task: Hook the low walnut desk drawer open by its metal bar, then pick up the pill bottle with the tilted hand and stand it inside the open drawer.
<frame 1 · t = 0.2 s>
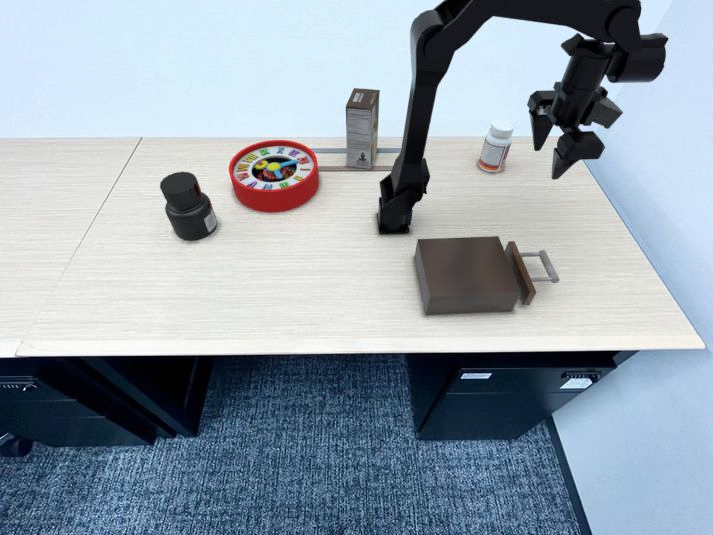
hand: (545, 164, 76), 15 cm above the table, tool pointing down, fingers open, 9 cm apart
pill bottle: (490, 166, 100), on the table
cabinet: (460, 283, 75), on the table
ink bottle: (197, 228, 85), on the table
drawer: (497, 272, 73), point 3 cm above the table, slide at 2.0 cm
coffee box: (362, 158, 102), on the table
toy clock: (277, 185, 95), on the table
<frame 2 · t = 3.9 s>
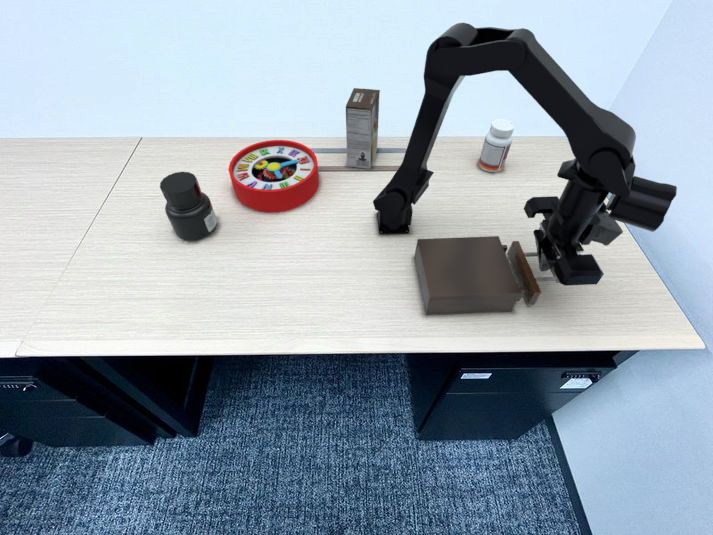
hand: (542, 269, 73), 3 cm above the table, tool pointing down, fingers closed, pressing on drawer
drawer: (501, 272, 73), point 3 cm above the table, slide at 2.8 cm, touching gripper
everything else where it was.
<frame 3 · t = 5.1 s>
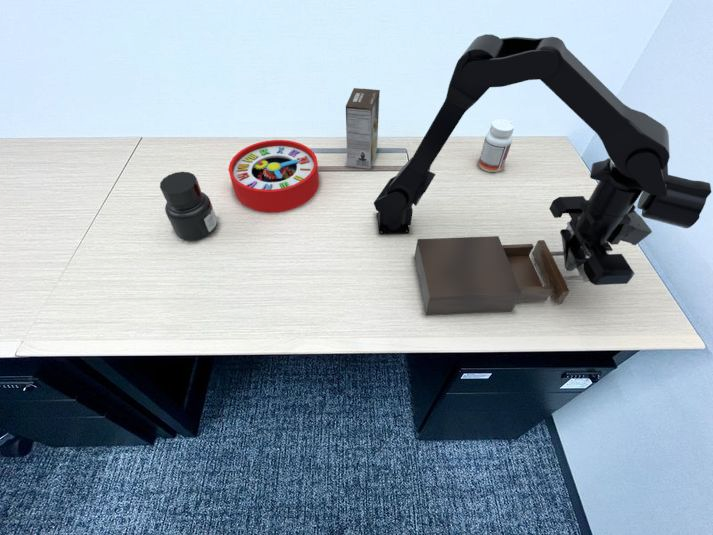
hand: (568, 269, 74), 3 cm above the table, tool pointing down, fingers closed, pressing on drawer
drawer: (528, 271, 74), point 3 cm above the table, slide at 7.8 cm, touching gripper
everything else where it was.
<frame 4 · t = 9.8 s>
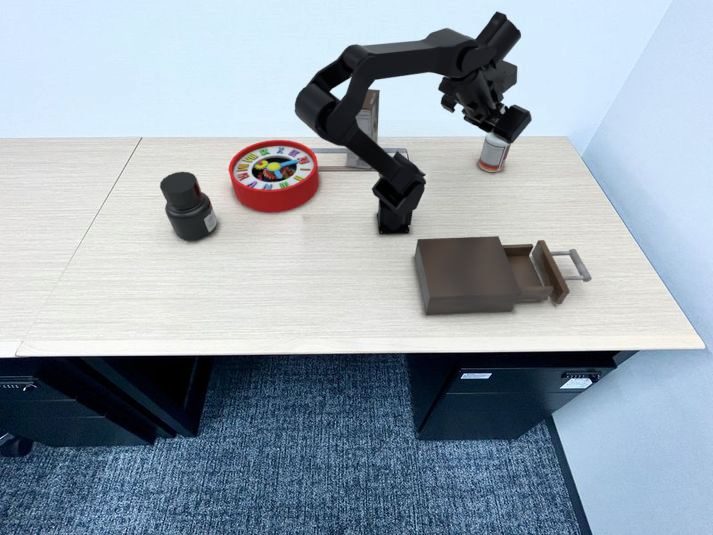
hand: (494, 130, 85), 14 cm above the table, tool tilted 40°, fingers closed
drawer: (528, 271, 74), point 3 cm above the table, slide at 7.8 cm
everything else where it was.
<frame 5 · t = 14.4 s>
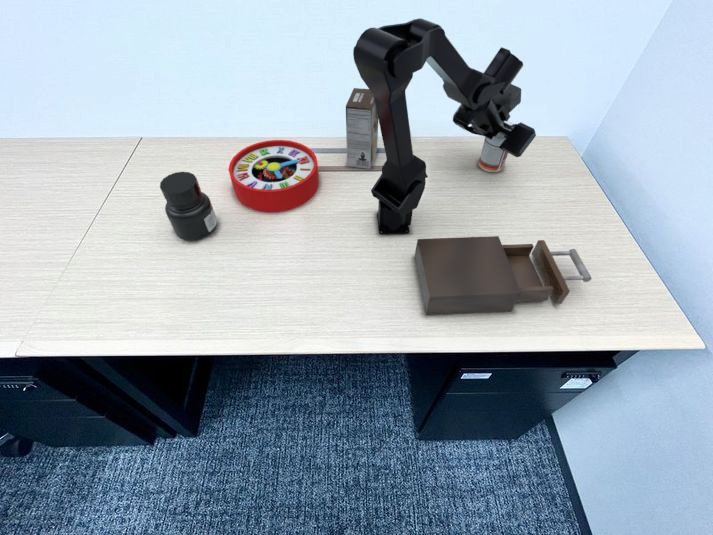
hand: (501, 140, 96), 7 cm above the table, tool tilted 45°, fingers closed on pill bottle, 6 cm apart
pill bottle: (490, 166, 100), on the table, touching gripper
everything else where it was.
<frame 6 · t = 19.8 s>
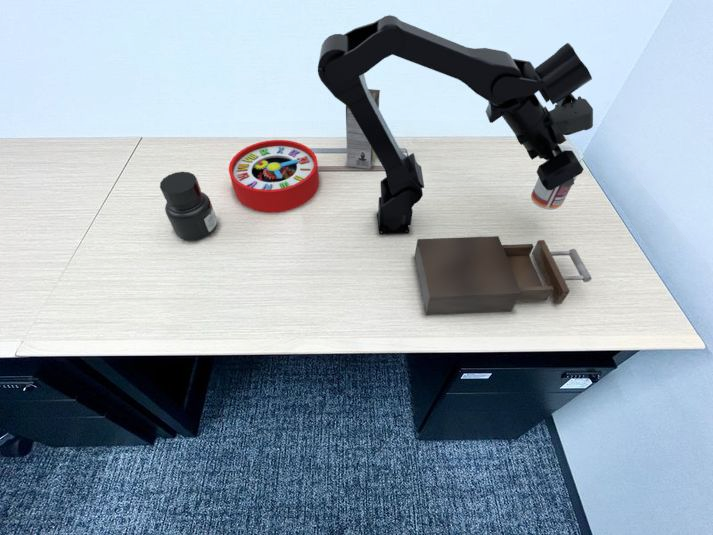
hand: (565, 174, 76), 13 cm above the table, tool tilted 45°, fingers closed on pill bottle, 6 cm apart
pill bottle: (545, 201, 81), point 7 cm above the table, touching gripper
everything else where it was.
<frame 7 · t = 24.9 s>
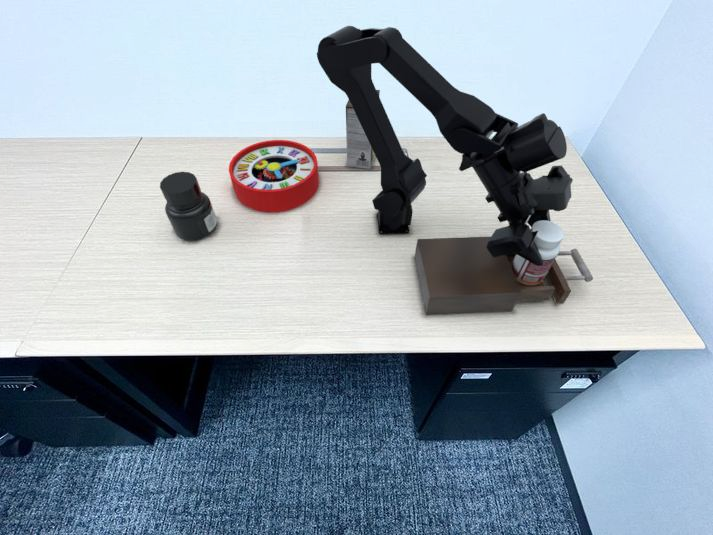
hand: (546, 253, 69), 9 cm above the table, tool tilted 45°, fingers closed on pill bottle, 6 cm apart
pill bottle: (525, 274, 75), point 2 cm above the table, touching drawer, gripper
drawer: (529, 271, 74), point 3 cm above the table, slide at 8.1 cm, touching pill bottle
everything else where it was.
when the fingers open (9 cm above the table, at t = 25.3 s): pill bottle stays where it is, resting on drawer.
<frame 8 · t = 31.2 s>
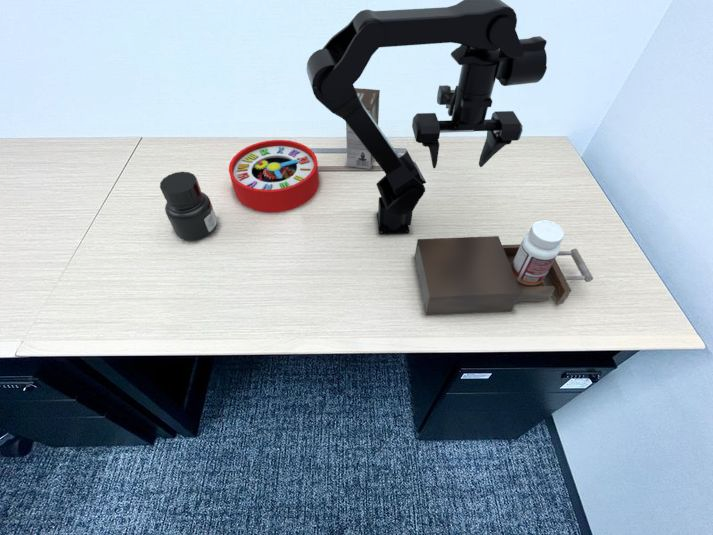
hand: (457, 166, 78), 13 cm above the table, tool pointing down, fingers open, 9 cm apart
pill bottle: (525, 274, 75), point 2 cm above the table, touching drawer
everything else where it was.
at the end: drawer slide at 8.1 cm; pill bottle inside the target area in the drawer (0.4 cm from its centre), point 1.8 cm above the cabinet's base; pill bottle tilted 0° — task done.
